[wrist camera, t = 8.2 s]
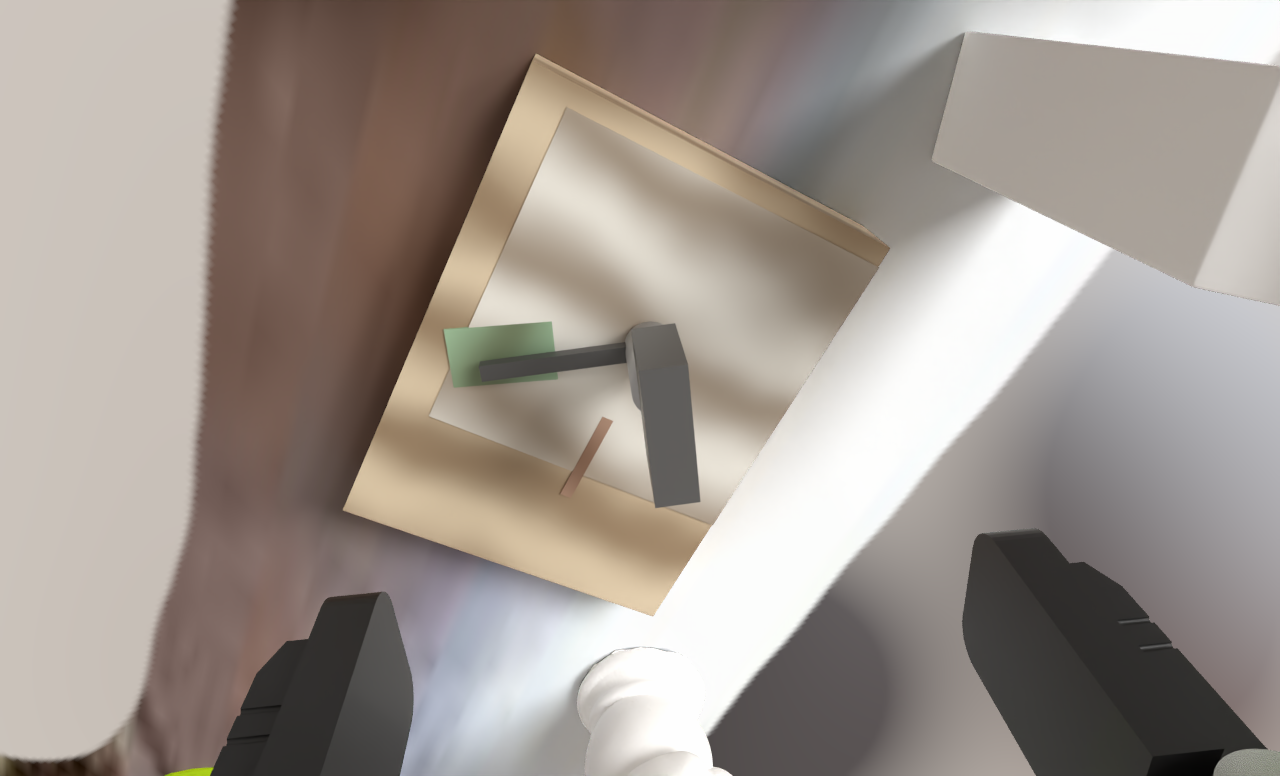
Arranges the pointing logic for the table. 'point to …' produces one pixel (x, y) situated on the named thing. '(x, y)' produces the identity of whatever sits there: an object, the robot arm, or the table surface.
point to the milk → (1128, 151)
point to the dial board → (604, 342)
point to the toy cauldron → (193, 772)
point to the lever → (637, 399)
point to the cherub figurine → (645, 716)
